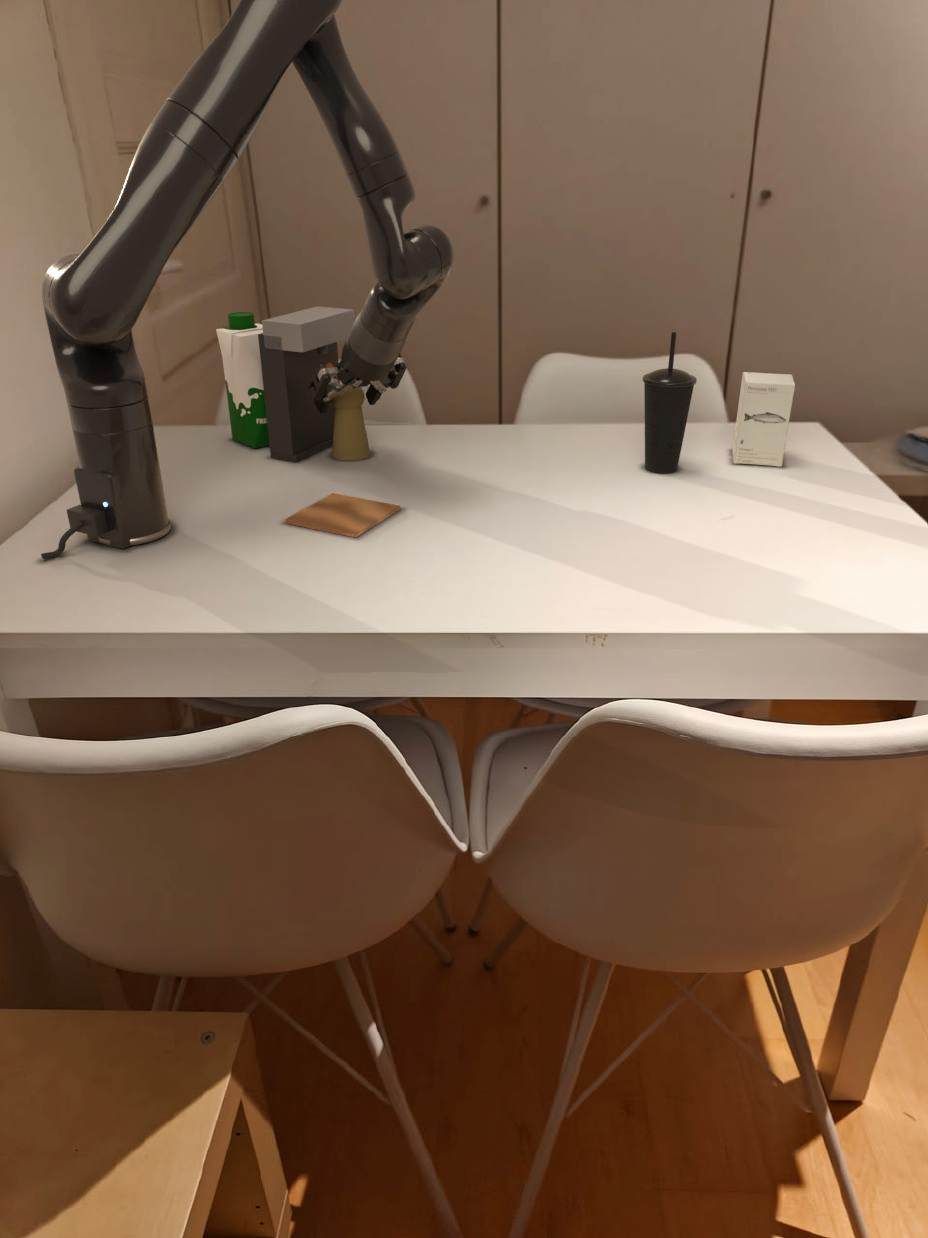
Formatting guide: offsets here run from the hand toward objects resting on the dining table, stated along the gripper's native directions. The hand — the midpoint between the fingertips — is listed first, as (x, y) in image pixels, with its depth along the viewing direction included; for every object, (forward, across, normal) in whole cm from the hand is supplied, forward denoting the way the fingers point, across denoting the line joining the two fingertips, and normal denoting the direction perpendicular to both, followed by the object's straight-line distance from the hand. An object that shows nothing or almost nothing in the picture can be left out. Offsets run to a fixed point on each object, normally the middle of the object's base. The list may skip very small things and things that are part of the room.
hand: (345, 404), depth 145 cm
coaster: (-12, +13, +23) cm, 29 cm away
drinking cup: (-18, -36, +29) cm, 50 cm away
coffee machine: (+9, +4, +2) cm, 10 cm away
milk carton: (+16, +9, -4) cm, 19 cm away
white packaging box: (-21, -52, +33) cm, 65 cm away
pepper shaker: (+5, 0, +6) cm, 8 cm away
